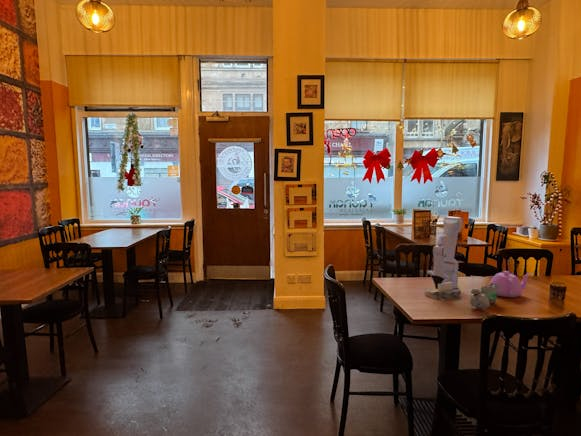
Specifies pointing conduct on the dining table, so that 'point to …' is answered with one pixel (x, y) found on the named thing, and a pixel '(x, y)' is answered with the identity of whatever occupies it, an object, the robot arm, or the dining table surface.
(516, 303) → the dining table surface
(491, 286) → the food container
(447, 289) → the pad
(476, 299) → the grey lumpy figure
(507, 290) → the teapot
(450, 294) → the frame
